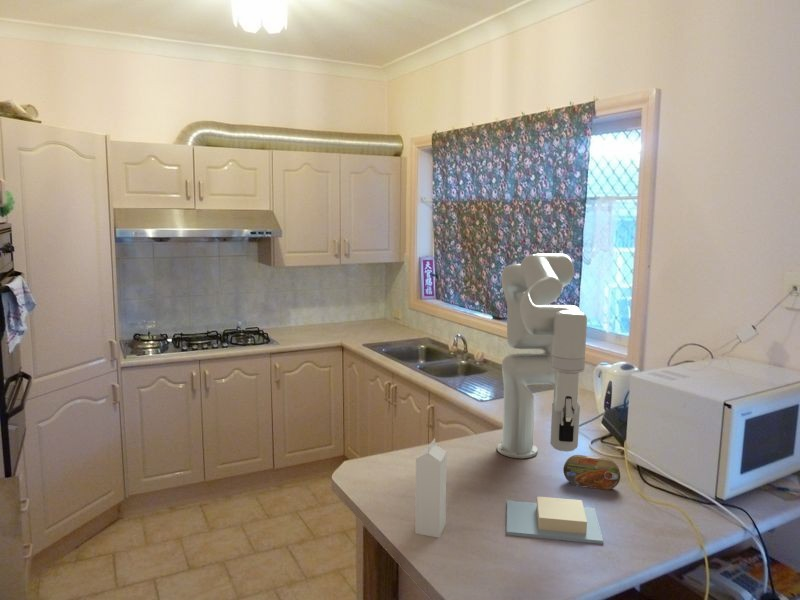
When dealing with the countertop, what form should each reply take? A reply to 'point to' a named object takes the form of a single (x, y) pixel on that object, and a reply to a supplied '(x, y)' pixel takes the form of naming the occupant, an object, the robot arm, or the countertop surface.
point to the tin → (592, 472)
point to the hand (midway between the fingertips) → (564, 434)
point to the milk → (431, 491)
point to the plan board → (530, 526)
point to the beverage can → (555, 431)
